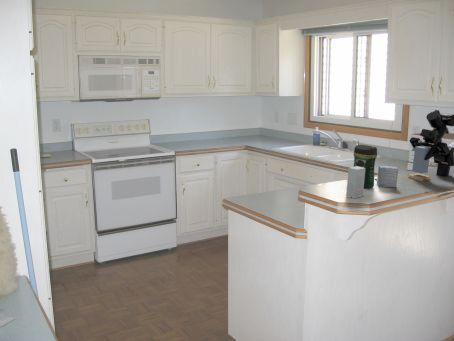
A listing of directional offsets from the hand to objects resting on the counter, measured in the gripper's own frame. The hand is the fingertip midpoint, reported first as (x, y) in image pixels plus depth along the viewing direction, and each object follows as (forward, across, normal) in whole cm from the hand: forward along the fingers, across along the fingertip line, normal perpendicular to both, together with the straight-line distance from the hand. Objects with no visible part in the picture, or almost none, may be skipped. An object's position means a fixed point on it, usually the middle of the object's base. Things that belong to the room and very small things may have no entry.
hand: (419, 158), depth 232 cm
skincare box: (+44, +7, -29) cm, 53 cm away
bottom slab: (+7, 0, +9) cm, 11 cm away
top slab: (+6, 0, +8) cm, 10 cm away
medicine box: (+24, +1, -9) cm, 26 cm away
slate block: (+4, 0, +6) cm, 7 cm away
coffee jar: (+33, -3, -18) cm, 37 cm away
